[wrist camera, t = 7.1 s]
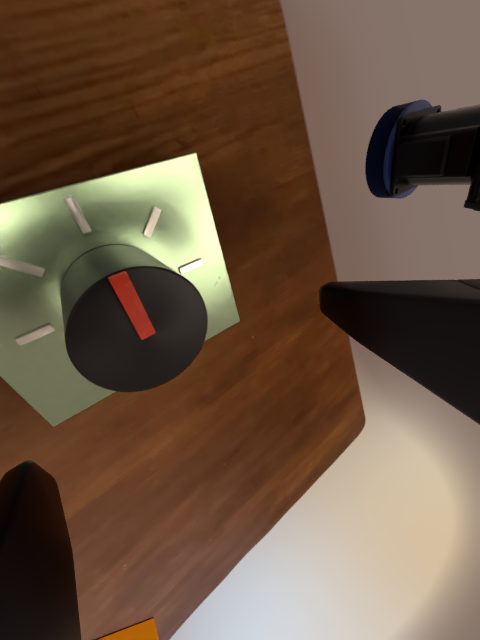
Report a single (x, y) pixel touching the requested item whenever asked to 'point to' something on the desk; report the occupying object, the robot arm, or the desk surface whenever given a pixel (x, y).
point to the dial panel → (88, 234)
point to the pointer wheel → (130, 319)
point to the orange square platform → (136, 632)
